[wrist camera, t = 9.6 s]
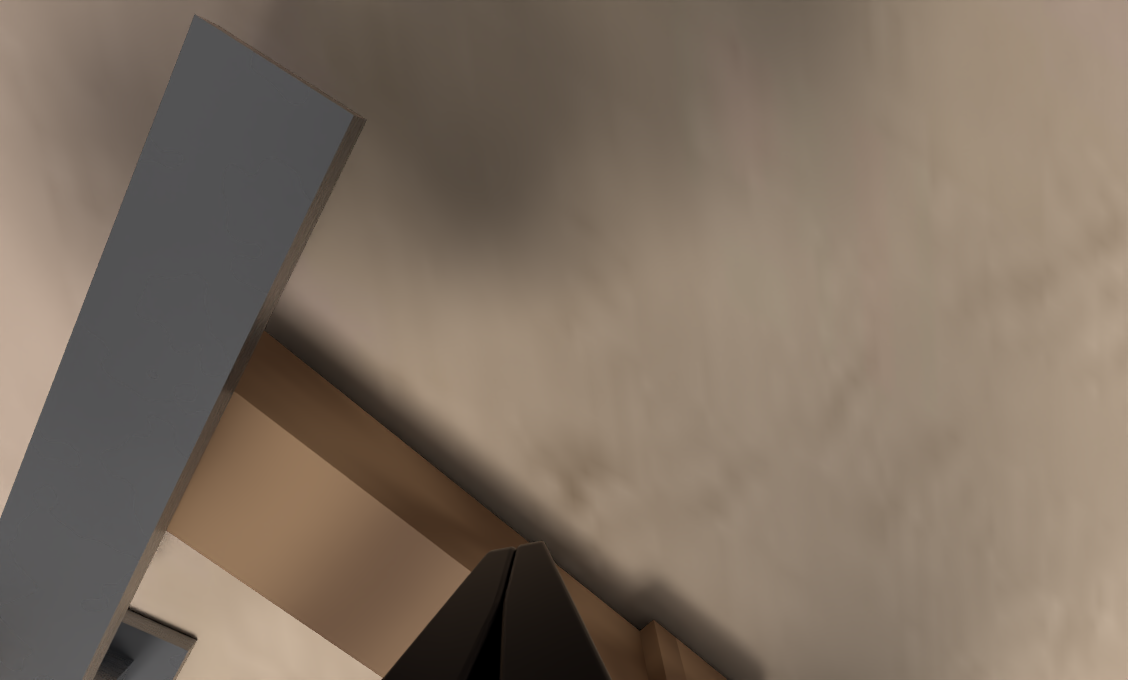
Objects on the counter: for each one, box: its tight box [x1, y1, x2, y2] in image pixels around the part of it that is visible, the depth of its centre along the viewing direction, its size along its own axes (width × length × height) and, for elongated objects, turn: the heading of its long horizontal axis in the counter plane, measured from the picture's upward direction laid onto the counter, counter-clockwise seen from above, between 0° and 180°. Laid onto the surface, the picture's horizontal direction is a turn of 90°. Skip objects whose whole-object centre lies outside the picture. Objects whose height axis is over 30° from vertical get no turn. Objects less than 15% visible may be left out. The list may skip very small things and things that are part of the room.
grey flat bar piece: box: [0, 15, 366, 680], centre depth 13 cm, size 5×21×4 cm, turn 148°
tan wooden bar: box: [166, 331, 727, 680], centre depth 14 cm, size 20×5×3 cm, turn 46°
